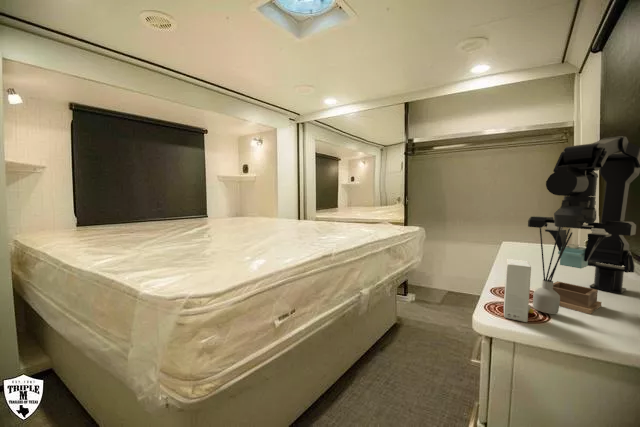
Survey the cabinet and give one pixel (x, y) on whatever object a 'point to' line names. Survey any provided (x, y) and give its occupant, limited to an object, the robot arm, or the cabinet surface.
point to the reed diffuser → (548, 285)
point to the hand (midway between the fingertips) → (574, 259)
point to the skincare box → (517, 290)
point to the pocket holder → (577, 297)
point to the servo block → (573, 256)
